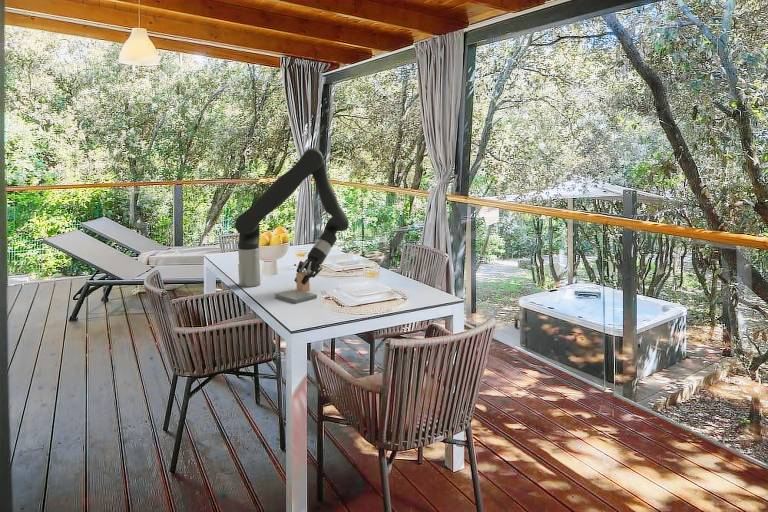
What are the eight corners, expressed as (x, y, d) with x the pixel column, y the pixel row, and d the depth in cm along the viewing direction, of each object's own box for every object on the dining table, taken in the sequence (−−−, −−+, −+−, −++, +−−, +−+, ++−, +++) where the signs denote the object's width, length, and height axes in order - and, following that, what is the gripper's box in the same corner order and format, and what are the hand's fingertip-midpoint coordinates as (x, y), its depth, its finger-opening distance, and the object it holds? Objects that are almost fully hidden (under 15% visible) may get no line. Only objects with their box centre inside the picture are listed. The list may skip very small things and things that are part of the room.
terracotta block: (296, 290, 241) (296, 273, 239) (303, 289, 244) (303, 271, 242) (302, 292, 238) (301, 274, 237) (309, 290, 241) (309, 273, 240)
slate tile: (275, 297, 230) (275, 294, 230) (295, 292, 238) (295, 289, 238) (296, 303, 221) (296, 299, 221) (316, 298, 229) (316, 294, 229)
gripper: (304, 245, 248) (284, 275, 241) (325, 248, 238) (304, 280, 232) (314, 254, 252) (294, 285, 246) (334, 258, 243) (314, 290, 236)
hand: (299, 282), depth 239 cm, fingers closed on terracotta block, 4 cm apart
